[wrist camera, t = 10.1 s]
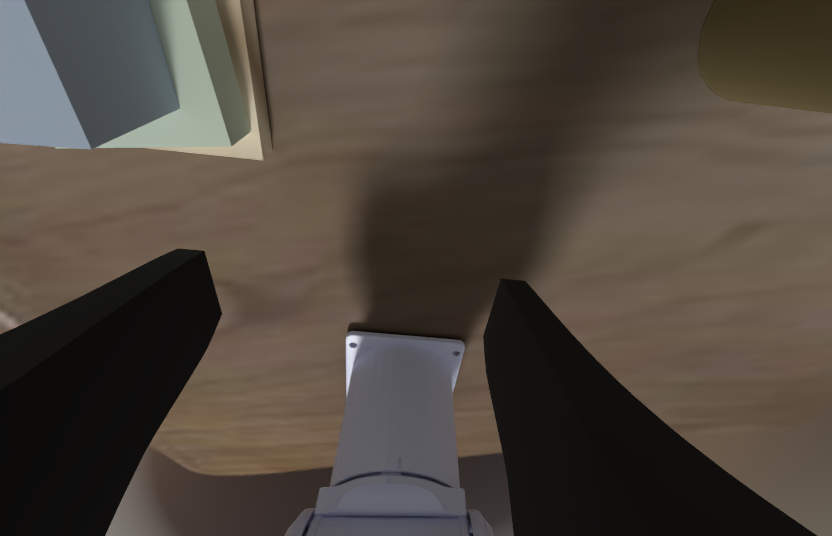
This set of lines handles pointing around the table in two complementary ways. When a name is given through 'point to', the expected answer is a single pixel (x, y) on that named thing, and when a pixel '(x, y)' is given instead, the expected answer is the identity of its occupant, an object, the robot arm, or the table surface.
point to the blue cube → (80, 71)
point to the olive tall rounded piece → (769, 52)
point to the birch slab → (242, 82)
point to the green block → (193, 82)
